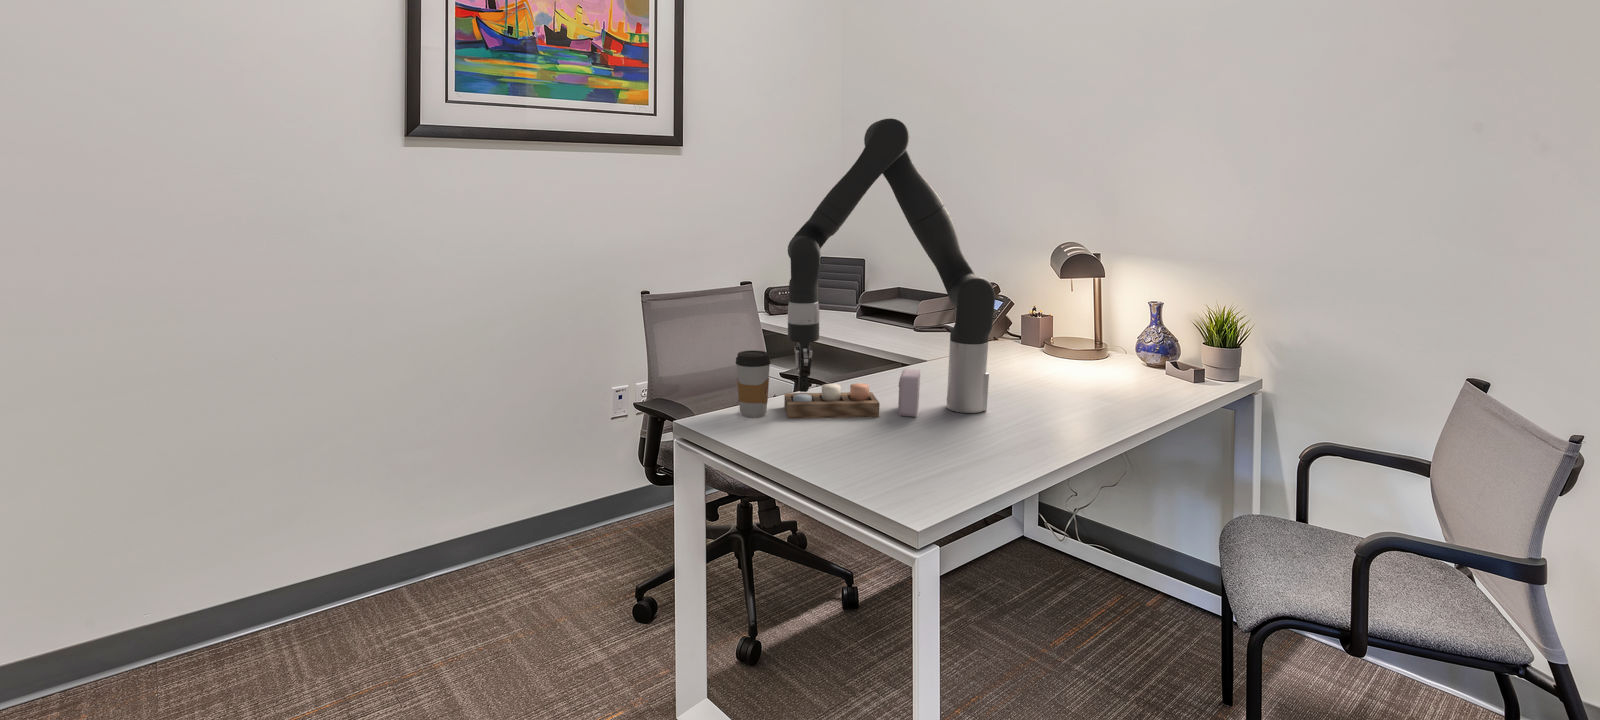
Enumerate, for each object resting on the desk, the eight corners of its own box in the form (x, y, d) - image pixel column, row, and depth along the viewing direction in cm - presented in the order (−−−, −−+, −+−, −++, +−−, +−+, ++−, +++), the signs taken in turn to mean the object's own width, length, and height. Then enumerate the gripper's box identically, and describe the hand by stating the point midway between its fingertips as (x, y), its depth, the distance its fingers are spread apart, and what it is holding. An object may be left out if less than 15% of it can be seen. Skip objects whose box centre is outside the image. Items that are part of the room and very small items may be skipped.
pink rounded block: (867, 395, 195) (867, 383, 194) (870, 400, 190) (870, 388, 190) (848, 396, 194) (848, 383, 194) (851, 401, 190) (851, 388, 189)
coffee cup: (765, 420, 185) (765, 358, 181) (731, 418, 186) (731, 356, 183) (774, 410, 193) (774, 350, 189) (741, 408, 194) (740, 349, 191)
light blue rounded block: (810, 406, 194) (810, 393, 193) (812, 411, 189) (812, 398, 189) (792, 406, 193) (792, 394, 193) (793, 412, 189) (793, 399, 188)
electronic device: (900, 405, 198) (901, 367, 196) (918, 407, 197) (920, 368, 195) (896, 417, 189) (898, 376, 187) (916, 418, 188) (918, 377, 186)
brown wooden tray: (871, 405, 198) (871, 392, 197) (879, 417, 188) (879, 402, 188) (784, 406, 196) (784, 393, 195) (787, 418, 186) (787, 404, 186)
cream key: (839, 396, 194) (839, 383, 193) (841, 401, 190) (842, 388, 189) (820, 396, 194) (820, 383, 193) (822, 401, 189) (823, 388, 188)
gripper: (822, 325, 181) (822, 397, 184) (816, 315, 193) (815, 383, 197) (790, 325, 180) (790, 398, 184) (785, 316, 193) (785, 384, 197)
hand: (803, 390), depth 190 cm, fingers closed
